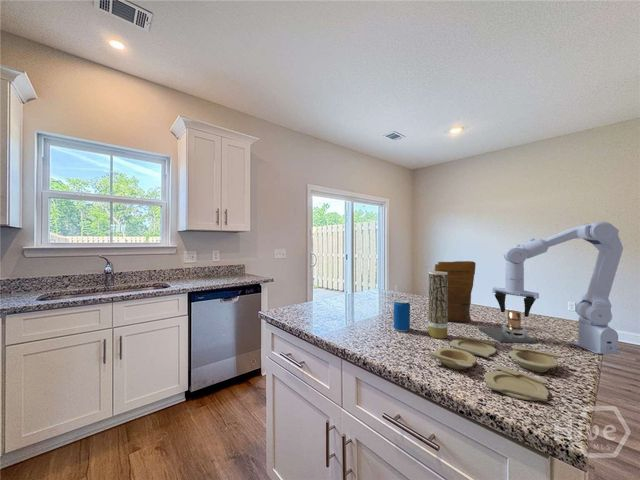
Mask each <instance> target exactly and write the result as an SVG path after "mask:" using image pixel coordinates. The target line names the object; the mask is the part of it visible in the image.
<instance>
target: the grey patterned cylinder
mask: <svg viewBox="0 0 640 480" xmlns="http://www.w3.org/2000/svg"><path fill="white" fill-rule="evenodd" d="M447 317H448V273H447V272H440V271H434V270H431V271H428V328H427V329H428V332H427V333H428V335H429V336H430V337H432V338H433V339H446V338H448V322H447Z"/></svg>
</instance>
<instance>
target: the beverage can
mask: <svg viewBox="0 0 640 480" xmlns="http://www.w3.org/2000/svg"><path fill="white" fill-rule="evenodd" d="M393 328H394V329H395V331H397V332H400V333H401V332H402V333H405V332H406V333H407V332H408V331H410V329H411V303H410V301H409V300H406V299H395V300H394V303H393Z"/></svg>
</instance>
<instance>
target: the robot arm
mask: <svg viewBox="0 0 640 480" xmlns="http://www.w3.org/2000/svg"><path fill="white" fill-rule="evenodd" d="M573 239H582V240H584V241H586V242H588V243H590V244H592V246H594V247H595V249H597V250H598V254H597V257H596V262H595V264H594V268H593V270H592V274H591V277H590V281H589V283H588V284H589V285H588V288H587V291H586V293H585V294H583V296H581V299H580V301H579V302H578V303H577V304H576V305H575V308H574V309H575V312H576V314H577V316H579V317H578V327H577V328H578V329H577V331H578V338H577V339H578V340H577V341H571V344H573V345H575V346H577V347H580V348H582V349H585V350H587V351H590V352H592V353H595V354H598V355H621V354H622V353H621V352H620V351H619V334H618V331H617V330H615V329H613V328H611V327H610V326H609V323H610V322H611V321H612V320H613V314H612V310H611V309H612V303H611V301H610V299H609V297H610V294H611V291H612V287H613V284H614V280H615V278H616V275H617V270H618V267H619V264H620V262H621V257H622V254H623V251H624V247H623V243H622V241H621V239H620V237H619V229H618V228H616V226H614V225H613V224H612V223H610V222H607V221H598V222H587V223H584V224H581V225H577V226H573V227H571V228H568V229H566V230H563V231H561V232H559V233H556V234H553V235H552V236H550V237H546V238H544V239H541V238H538V237H537V238H534V237H533V238H530V239H529V241H527V242H524V243H521V244H519V243H518V244H516V245H515V246H516V247H511V248H508V249H506V250H505V252H504V254H503V258H504V260H505V287H504V288H503V287H495V286H494V287H492V293H494V297H495V299H496V301H497V303H498V305H499V308H500V312H501V313H505V312H506V296H507V295H511V296H516V297H524V298H523V303H524V304H523V305H524V315H523V316H524V317H525V318H527V317H529V316H530V315H529V314H530V311H531V308H532V306H533V304H534V303H535V301H537V300H538V299H539V298H540V296H539V295H540V293H539V292H534V291H530V290H529V291H527V290H525V289H524V288H525V267H524V265H525V263H524V262H525V261H526V260H527V259H532V258H534V257H537V256H539V255H541V254H545V253H547V252H548V250H549V248H550V247H554V246H557V245H559V244H562V243H566V242H567V241H571V240H573Z"/></svg>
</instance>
